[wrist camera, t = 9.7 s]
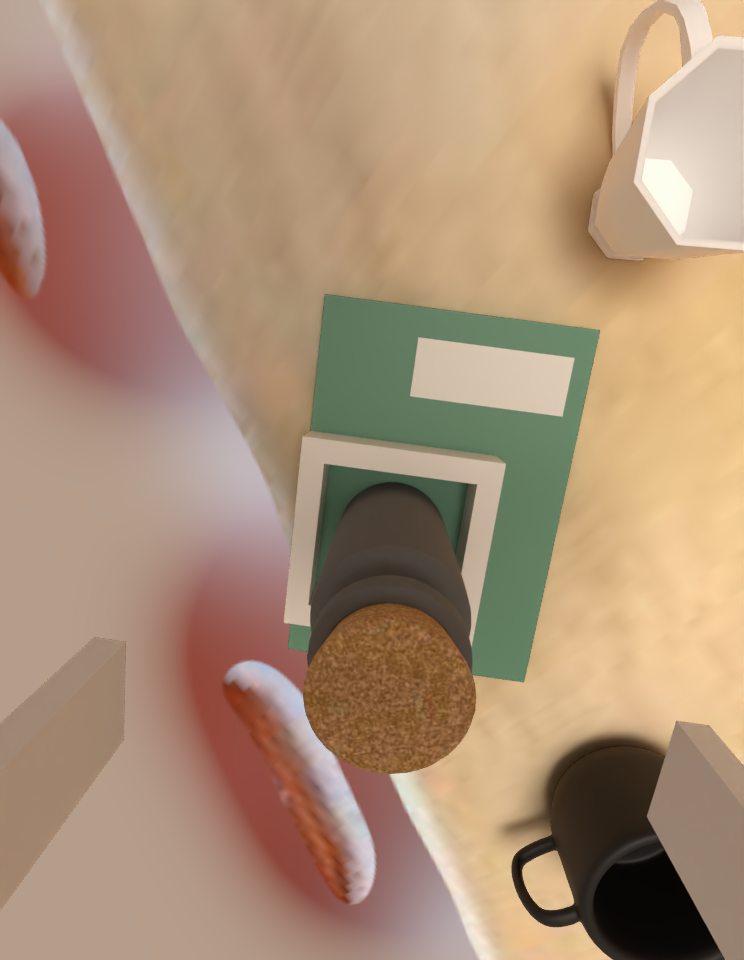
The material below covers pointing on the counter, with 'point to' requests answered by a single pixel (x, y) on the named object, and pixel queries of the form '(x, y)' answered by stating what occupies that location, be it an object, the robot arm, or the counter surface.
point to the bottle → (390, 636)
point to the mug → (617, 862)
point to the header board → (446, 451)
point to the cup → (676, 149)
